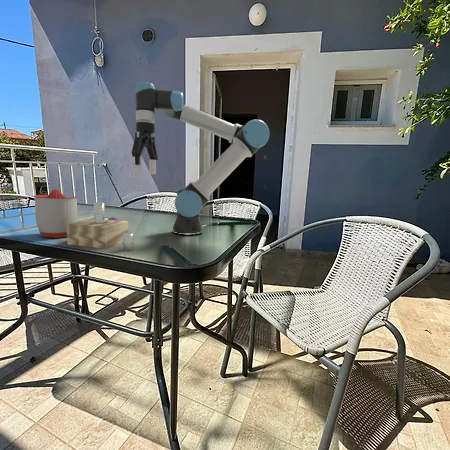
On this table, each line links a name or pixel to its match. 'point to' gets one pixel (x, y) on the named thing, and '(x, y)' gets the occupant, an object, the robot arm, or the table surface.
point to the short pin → (128, 241)
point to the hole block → (96, 233)
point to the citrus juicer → (55, 213)
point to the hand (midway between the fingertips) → (145, 173)
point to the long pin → (99, 213)
